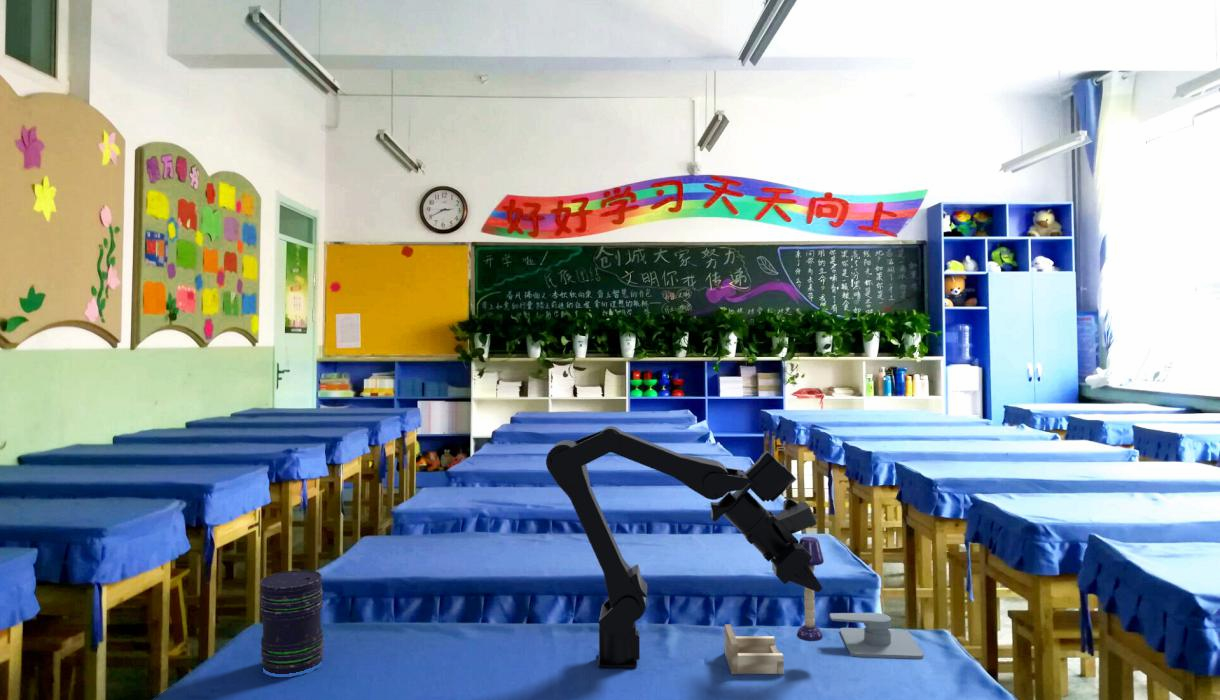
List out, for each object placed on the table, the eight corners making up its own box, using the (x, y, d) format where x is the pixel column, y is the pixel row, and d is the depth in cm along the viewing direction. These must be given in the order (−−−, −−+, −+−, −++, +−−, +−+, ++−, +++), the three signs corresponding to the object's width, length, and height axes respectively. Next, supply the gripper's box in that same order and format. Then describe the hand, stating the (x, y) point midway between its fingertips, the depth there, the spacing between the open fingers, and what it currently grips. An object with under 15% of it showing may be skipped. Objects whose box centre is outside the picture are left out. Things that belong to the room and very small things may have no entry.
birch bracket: (731, 674, 137) (731, 644, 137) (724, 652, 146) (724, 624, 146) (783, 674, 137) (783, 644, 137) (773, 652, 146) (773, 624, 146)
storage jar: (250, 678, 137) (248, 587, 136) (276, 654, 146) (274, 569, 146) (310, 678, 136) (309, 587, 136) (332, 654, 146) (331, 570, 146)
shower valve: (824, 603, 157) (907, 605, 155) (824, 632, 157) (907, 634, 155) (835, 627, 144) (925, 629, 143) (835, 658, 145) (925, 661, 143)
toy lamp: (789, 636, 141) (790, 538, 141) (803, 629, 145) (804, 533, 144) (814, 643, 138) (816, 543, 137) (828, 636, 141) (829, 538, 141)
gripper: (799, 498, 131) (868, 569, 131) (776, 477, 150) (837, 538, 150) (748, 548, 132) (817, 618, 132) (732, 520, 150) (792, 581, 150)
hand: (817, 586), depth 141 cm, fingers closed on toy lamp, 4 cm apart
